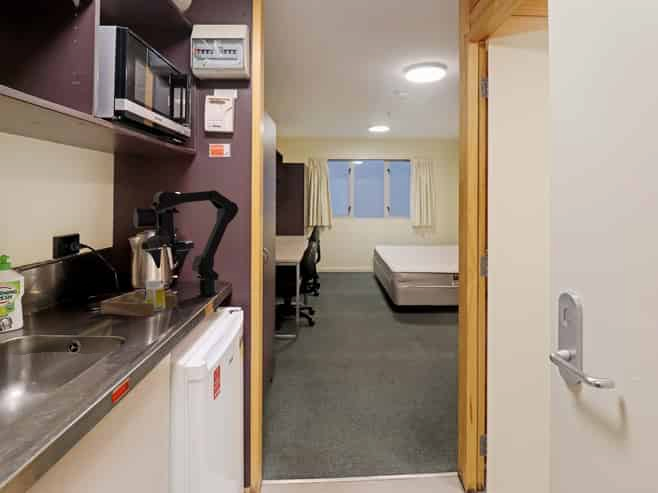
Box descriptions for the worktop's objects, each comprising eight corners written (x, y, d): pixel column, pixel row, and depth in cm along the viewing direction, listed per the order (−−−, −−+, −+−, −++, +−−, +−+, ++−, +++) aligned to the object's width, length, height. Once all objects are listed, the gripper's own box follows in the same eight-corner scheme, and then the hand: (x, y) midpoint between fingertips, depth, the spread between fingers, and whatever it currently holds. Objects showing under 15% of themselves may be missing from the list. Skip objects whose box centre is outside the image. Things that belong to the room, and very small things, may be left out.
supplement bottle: (167, 307, 134) (164, 278, 132) (163, 311, 128) (161, 281, 127) (149, 308, 132) (147, 279, 131) (145, 312, 127) (143, 282, 126)
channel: (143, 299, 147) (142, 289, 147) (188, 301, 142) (187, 290, 141) (101, 313, 128) (100, 301, 128) (151, 316, 123) (150, 304, 123)
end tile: (158, 306, 136) (158, 305, 136) (175, 306, 134) (175, 306, 134) (136, 314, 126) (136, 313, 126) (154, 315, 124) (154, 315, 124)
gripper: (128, 227, 134) (131, 271, 136) (174, 227, 129) (177, 272, 131) (150, 225, 145) (153, 266, 146) (193, 225, 140) (196, 267, 142)
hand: (169, 268), depth 141 cm, fingers open, 9 cm apart
